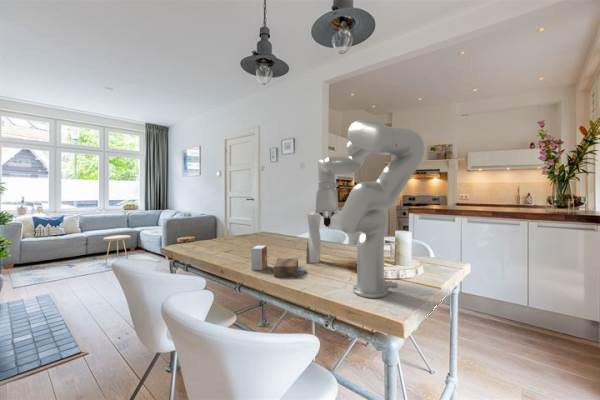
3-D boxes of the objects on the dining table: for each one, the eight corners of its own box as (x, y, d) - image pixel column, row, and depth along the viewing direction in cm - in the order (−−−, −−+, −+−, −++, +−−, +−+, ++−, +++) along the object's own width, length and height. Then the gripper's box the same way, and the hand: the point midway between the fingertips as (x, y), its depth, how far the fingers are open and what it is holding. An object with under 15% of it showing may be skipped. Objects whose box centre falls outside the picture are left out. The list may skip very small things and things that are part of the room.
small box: (262, 270, 128) (261, 248, 128) (251, 270, 130) (250, 248, 129) (267, 266, 136) (267, 245, 136) (257, 265, 137) (256, 245, 137)
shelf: (302, 267, 132) (302, 258, 132) (301, 276, 118) (301, 266, 118) (277, 267, 133) (277, 258, 132) (274, 276, 119) (273, 266, 118)
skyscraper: (306, 260, 148) (306, 209, 148) (321, 260, 148) (320, 208, 147) (306, 264, 140) (305, 210, 139) (321, 264, 139) (321, 210, 139)
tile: (304, 271, 127) (304, 266, 127) (303, 275, 121) (303, 270, 121) (278, 271, 128) (278, 266, 128) (277, 275, 122) (277, 270, 122)
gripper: (342, 186, 127) (342, 225, 128) (310, 186, 128) (310, 225, 128) (344, 186, 120) (344, 227, 120) (310, 186, 120) (310, 227, 121)
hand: (327, 226), depth 124 cm, fingers closed
